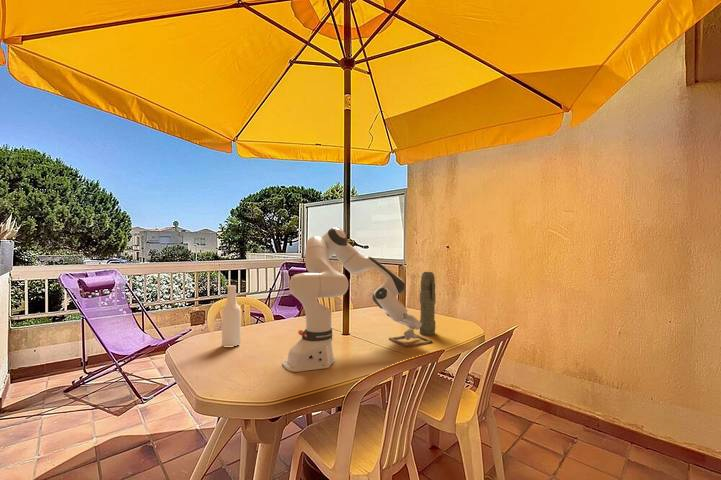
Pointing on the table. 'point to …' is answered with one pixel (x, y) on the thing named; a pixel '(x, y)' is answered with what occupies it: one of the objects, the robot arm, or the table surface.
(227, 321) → the alcohol
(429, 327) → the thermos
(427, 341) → the frame
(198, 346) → the table surface
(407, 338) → the lighter
